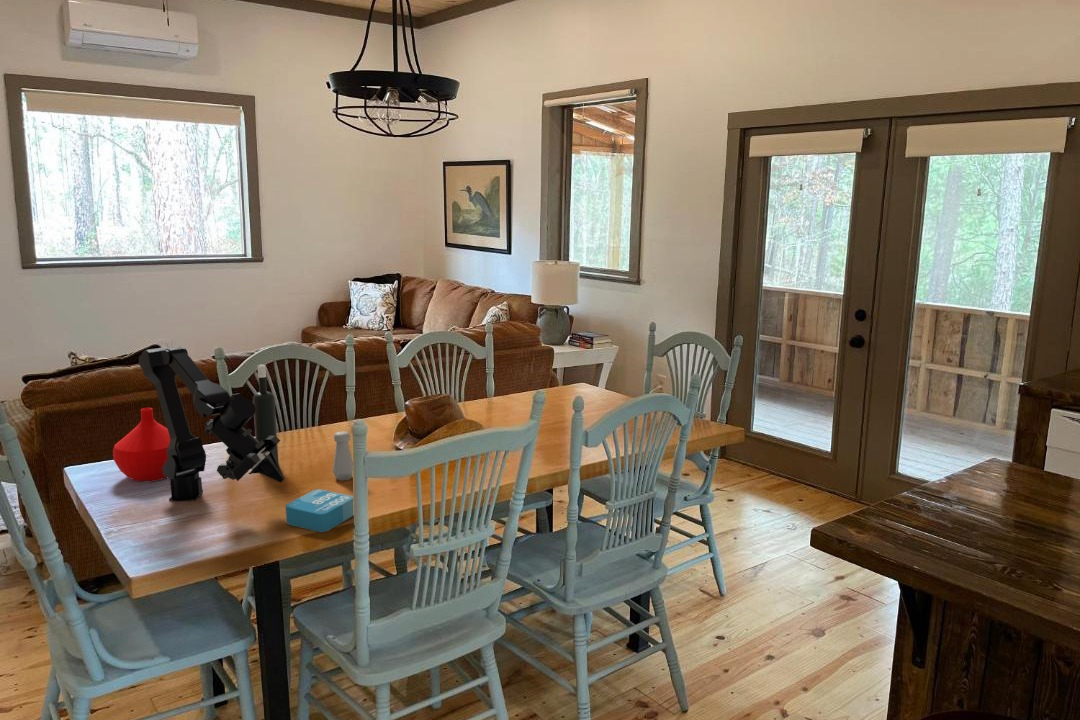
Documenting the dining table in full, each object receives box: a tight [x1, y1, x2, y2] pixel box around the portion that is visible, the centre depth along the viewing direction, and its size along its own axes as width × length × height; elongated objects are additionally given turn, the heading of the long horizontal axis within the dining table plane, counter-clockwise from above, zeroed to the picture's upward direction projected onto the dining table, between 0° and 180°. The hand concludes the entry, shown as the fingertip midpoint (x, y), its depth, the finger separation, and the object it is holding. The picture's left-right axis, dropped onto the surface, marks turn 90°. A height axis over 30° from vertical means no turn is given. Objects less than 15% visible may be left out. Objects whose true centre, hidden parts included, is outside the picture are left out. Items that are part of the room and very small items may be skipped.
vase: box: [112, 407, 170, 482], centre depth 222 cm, size 18×18×19 cm
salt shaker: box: [332, 430, 354, 481], centre depth 221 cm, size 6×6×13 cm
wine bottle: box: [252, 364, 280, 464], centre depth 228 cm, size 6×6×30 cm
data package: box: [285, 489, 354, 533], centre depth 192 cm, size 12×4×12 cm
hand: (282, 481), depth 195 cm, fingers closed
